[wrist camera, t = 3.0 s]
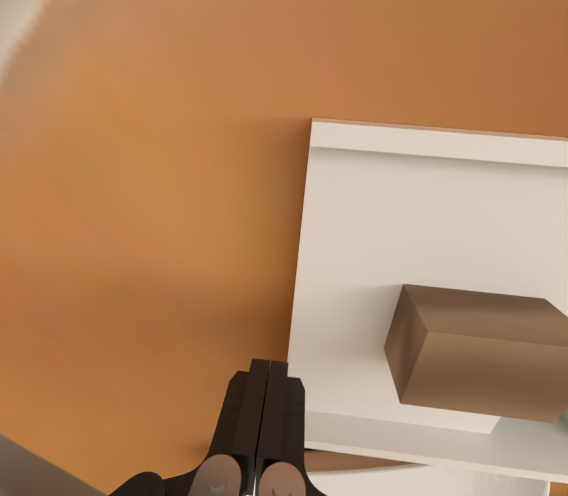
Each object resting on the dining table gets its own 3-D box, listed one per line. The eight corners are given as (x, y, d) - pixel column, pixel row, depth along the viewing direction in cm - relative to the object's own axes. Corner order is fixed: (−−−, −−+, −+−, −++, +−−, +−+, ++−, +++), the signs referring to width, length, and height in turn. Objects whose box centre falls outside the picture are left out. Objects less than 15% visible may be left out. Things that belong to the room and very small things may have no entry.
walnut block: (403, 283, 15) (428, 331, 11) (545, 298, 14) (610, 352, 11) (383, 347, 17) (400, 403, 13) (507, 362, 16) (554, 423, 13)
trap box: (312, 117, 14) (312, 121, 10) (954, 167, 13) (1300, 198, 8) (285, 378, 23) (279, 444, 18) (668, 425, 21) (762, 510, 17)
